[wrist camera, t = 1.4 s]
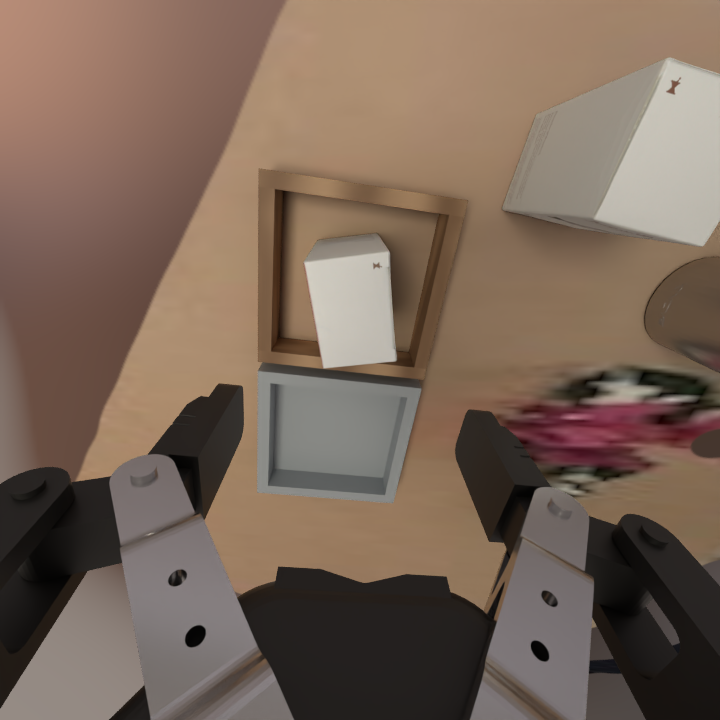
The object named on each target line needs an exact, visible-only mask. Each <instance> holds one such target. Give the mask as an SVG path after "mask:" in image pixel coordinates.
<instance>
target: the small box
mask: <svg viewBox="0 0 720 720" xmlns="http://www.w3.org/2000/svg"><path fill="white" fill-rule="evenodd" d="M303 264H304V269H305V274H306V279H307V285H308V290H309V296H310V301H311V307H312V312H313V318H314V323H315V329H316V334H317V339H318V345H319V350H320V356H321V361H322V367H323V368H334V367H344V366H354V365H364V364H375V363H385V362H395V361H397V354H396V346H395V335H394V322H393V308H392V293H391V274H390V251H389V250H388V248H387V247H386V246H385V244H384V243H383V241H382V239H381V238H380V237H379V235H378V234H377V233H373V234H364V235H355V236H347V237H338V238H330V239H321V240H317V242H316V243H315V245H314V246H313V248H312V250H311V251H310V253H309V254H308V256H307V258H306V259H305V261H304V263H303Z"/></svg>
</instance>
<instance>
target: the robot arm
mask: <svg viewBox="0 0 720 720" xmlns="http://www.w3.org/2000/svg"><path fill="white" fill-rule="evenodd" d="M645 326H646V329H647V332H648V334H649V335H650V337H651V338H652V339H653V340H654V341H656V342H657V343H659V344H661V345H663V346H665V347H667V348H669V349H671V350H673V351H675V352H677V353H680V354H682V355H684V356H686V357H688V358H690V359H692V360H694V361H696V362H698V363H700V364H702V365H704V366H706V367H708V368H710V369H712V370H715V371H717V372H719V373H720V257H709V258H703V259H699V260H696V261H693V262H691V263H689V264H687V265H684V266H683V267H681V268H680V269H678V270H677V271H675V272H673V273H672V274H671V275H670V276H669V277H668V278H667V279H665V280H664V281H663V283H662V284H661V285H660V286H659V287H658V288H657V290H656V291H655V293H654V294H653V296H652V298H651V299H650V302H649V304H648V307H647V310H646V315H645ZM243 427H244V408H243V387H242V386H239V385H230V384H218V385H217V386H216V388H215V389H214V390H213V392H212V393H211V395H210V396H209V397H203V396H200V397H198V398H197V399H195V400H193V401H192V402H190V403H189V404H187V405H186V407H185V408H184V409H183V410H182V412H181V413H180V414H179V416H178V417H177V418H176V419H175V420H174V422H173V425H171V426H170V427H169V428H168V429H167V431H166V432H165V433H164V434H163V436H162V437H161V438H160V440H159V441H158V442H157V443H156V445H155V446H154V447H153V448H152V450H151V451H150V452H149V454H148V455H144V456H140V457H137V458H134V459H131V460H129V461H127V462H126V463H124V464H122V465H121V466H120V467H118V468H117V469H116V470H115V471H114V473H113V474H112V476H110V477H104V478H98V479H91V480H84V481H78V482H71V479H70V476H69V474H68V472H67V471H65V470H63V469H61V468H56V467H45V468H38V469H33V470H29V471H26V472H23V473H20V474H18V475H16V476H13V477H12V478H10V479H8V480H6V481H4V482H3V483H1V484H0V708H1V707H2V705H3V703H4V702H5V700H6V699H7V697H8V696H9V694H10V692H11V691H12V689H13V688H14V686H15V685H16V683H17V681H18V680H19V678H20V676H21V675H22V674H23V672H24V670H25V669H26V667H27V666H28V664H29V662H30V661H31V659H32V658H33V656H34V655H35V653H36V651H37V650H38V648H39V647H40V645H41V643H42V642H43V640H44V639H45V637H46V636H47V634H48V633H49V631H50V629H51V628H52V626H53V625H54V623H55V622H56V620H57V618H58V617H59V615H60V614H61V612H62V611H63V609H64V607H65V606H66V604H67V603H68V601H69V600H70V598H71V596H72V595H73V593H74V592H75V590H76V589H77V587H78V585H79V584H80V582H81V580H82V579H83V578H84V576H85V574H86V573H87V571H89V570H93V569H97V568H102V567H106V566H110V565H114V564H119V563H122V564H123V569H124V575H125V580H126V586H127V591H128V596H129V602H130V607H131V613H132V618H133V624H134V630H135V635H136V640H137V645H138V652H139V657H140V663H141V668H142V674H143V679H144V686H143V687H142V688H141V689H140V690H139V691H138V692H137V693H136V694H135V695H134V696H133V697H132V698H131V699H130V700H129V701H128V702H127V703H126V704H125V705H124V706H123V707H122V708H121V709H120V710H119V711H117V713H115V714H114V716H112V717H111V718H110V719H109V720H586V705H587V689H588V673H589V656H590V640H591V625H592V618H593V620H594V622H595V623H596V625H597V627H598V629H599V631H600V633H601V635H602V637H603V639H604V641H605V643H606V644H607V646H608V648H609V650H610V652H611V654H612V656H613V658H614V660H615V662H616V664H617V665H618V667H619V669H620V671H621V673H622V675H623V677H624V679H625V681H626V683H627V685H628V686H629V688H630V690H631V692H632V694H633V696H634V698H635V700H636V702H637V704H638V705H639V707H640V709H641V711H642V713H643V715H644V717H645V719H646V720H720V586H719V585H718V584H717V582H716V581H715V580H714V579H713V578H712V577H711V576H710V575H709V574H708V572H707V571H706V570H705V569H704V568H703V567H702V566H701V565H700V563H699V562H698V561H697V560H696V559H695V558H694V557H693V556H692V555H691V553H690V552H689V551H688V550H687V549H686V548H685V547H684V546H683V545H682V543H681V542H680V541H679V540H678V539H677V538H676V537H675V536H674V535H673V534H672V533H671V532H669V531H668V530H667V529H665V528H664V527H663V526H661V525H659V524H658V523H656V522H654V521H652V520H650V519H648V518H646V517H643V516H640V515H635V514H626V515H624V516H623V517H622V518H621V520H620V521H619V523H618V524H617V525H614V524H611V523H608V522H605V521H602V520H599V519H596V518H593V517H590V516H588V514H587V512H586V510H585V509H584V507H583V506H582V505H581V504H580V503H579V502H578V501H577V500H575V499H574V498H573V497H571V496H570V495H568V494H566V493H565V492H563V491H560V490H558V489H555V488H551V486H550V485H549V483H548V482H547V480H546V479H545V477H544V476H543V475H542V473H541V472H540V470H539V469H538V467H537V466H536V464H535V463H534V461H533V460H532V459H531V458H530V456H529V454H528V453H527V451H526V450H525V449H523V448H524V447H523V446H522V444H521V443H520V441H519V440H518V438H517V437H516V436H515V435H514V434H513V433H511V432H510V431H509V430H508V429H507V428H505V427H503V426H500V424H499V423H498V421H497V420H496V418H495V417H494V415H493V414H492V412H490V411H480V410H468V411H467V413H466V415H465V418H464V421H463V424H462V427H461V430H460V433H459V436H458V439H457V443H456V448H455V454H456V460H457V463H458V465H459V468H460V470H461V473H462V475H463V478H464V480H465V483H466V485H467V488H468V490H469V493H470V495H471V498H472V500H473V503H474V505H475V508H476V510H477V513H478V515H479V518H480V520H481V523H482V525H483V528H484V530H485V533H486V535H487V538H488V540H489V542H502V543H504V544H505V546H506V548H507V549H506V551H505V553H504V555H503V558H502V560H501V563H500V566H499V569H498V572H497V575H496V577H495V580H494V583H493V586H492V589H491V592H490V594H489V597H488V600H487V603H486V606H485V608H484V610H481V609H480V608H479V607H477V606H476V605H475V604H473V603H472V602H470V601H468V600H467V599H465V598H463V597H461V596H459V595H456V594H454V593H451V592H450V589H449V585H448V581H447V577H443V576H426V575H410V574H406V575H401V576H397V577H392V578H388V579H383V580H379V581H374V582H370V583H361V582H358V581H355V580H352V579H349V578H346V577H343V576H340V575H337V574H334V573H331V572H328V571H325V570H322V569H309V568H293V567H278V571H277V576H276V581H275V582H270V583H267V584H264V585H261V586H258V587H255V588H253V589H251V590H249V591H247V592H245V593H243V594H242V595H240V596H239V597H236V594H235V592H234V590H233V587H232V585H231V583H230V580H229V578H228V576H227V573H226V571H225V568H224V566H223V564H222V561H221V559H220V557H219V554H218V552H217V550H216V547H215V545H214V543H213V540H212V538H211V535H210V533H209V531H208V528H207V526H206V524H205V521H204V520H205V518H206V515H207V513H208V511H209V509H210V507H211V504H212V502H213V500H214V498H215V495H216V493H217V491H218V489H219V487H220V484H221V482H222V480H223V478H224V476H225V473H226V471H227V469H228V467H229V465H230V462H231V460H232V458H233V456H234V454H235V451H236V449H237V447H238V445H239V442H240V440H241V437H242V433H243ZM653 598H654V600H655V601H656V603H657V604H658V606H659V607H660V608H661V610H662V611H663V613H664V614H665V616H666V617H667V618H668V620H669V621H670V623H671V624H672V625H673V627H674V629H675V630H676V632H677V634H678V637H679V641H680V652H679V654H677V652H676V651H675V649H674V648H673V646H672V645H671V643H670V642H669V640H668V639H667V637H666V636H665V634H664V633H663V631H662V630H661V628H660V627H659V625H658V624H657V622H656V621H655V619H654V618H653V617H652V615H651V614H650V612H649V610H648V609H647V607H646V606H647V605H648V604H649V602H650V601H651V600H652V599H653Z"/></svg>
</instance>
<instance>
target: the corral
mask: <svg viewBox="0 0 720 720" xmlns="http://www.w3.org/2000/svg"><path fill="white" fill-rule="evenodd" d="M283 190H285V191H292V192H299V193H305V194H312V195H319V196H325V197H332V198H339V199H346V200H352V201H359V202H366V203H372V204H379V205H386V206H393V207H399V208H406V209H413V210H419V211H426V212H433V213H439V216H438V220H437V225H436V229H435V234H434V239H433V243H432V248H431V252H430V257H429V262H428V266H427V271H426V276H425V280H424V285H423V289H422V294H421V299H420V303H419V308H418V312H417V317H416V322H415V326H414V331H413V335H412V340H411V345H410V349H409V352H400V351H396V354H397V361H395V362H385V363H375V364H364V365H354V366H344V367H334V368H323V367H322V361H321V356H320V350H319V345H318V342H314V341H305V340H296V339H288V338H279V337H278V335H279V305H280V274H281V243H282V212H283ZM467 204H468V200H462V199H455V198H449V197H442V196H436V195H429V194H423V193H416V192H409V191H403V190H396V189H390V188H383V187H377V186H370V185H364V184H357V183H351V182H344V181H338V180H331V179H325V178H318V177H311V176H305V175H298V174H292V173H285V172H279V171H272V170H266V169H259V208H258V362H265V363H274V364H283V365H293V366H302V367H311V368H320V369H329V370H338V371H347V372H357V373H366V374H375V375H384V376H393V377H402V378H411V379H421V380H424V377H425V373H426V369H427V365H428V361H429V357H430V353H431V349H432V345H433V341H434V337H435V333H436V329H437V325H438V321H439V317H440V313H441V309H442V304H443V300H444V296H445V292H446V288H447V284H448V280H449V276H450V272H451V268H452V264H453V260H454V256H455V252H456V248H457V244H458V240H459V236H460V232H461V228H462V224H463V220H464V216H465V212H466V208H467Z"/></svg>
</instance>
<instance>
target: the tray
mask: <svg viewBox="0 0 720 720" xmlns="http://www.w3.org/2000/svg"><path fill="white" fill-rule="evenodd" d="M421 389H422V388H421V385H420V383H419V380H418V379H411V378H402V377H393V376H384V375H375V374H366V373H357V372H347V371H338V370H329V369H320V368H311V367H302V366H293V365H283V364H274V363H265V362H262V364H261V366H260V368H259V370H258V458H257V492H258V493H271V494H283V495H296V496H308V497H321V498H333V499H346V500H359V501H371V502H384V503H393V502H394V498H395V494H396V490H397V486H398V482H399V478H400V474H401V470H402V466H403V462H404V458H405V454H406V450H407V446H408V442H409V437H410V433H411V429H412V425H413V421H414V417H415V413H416V409H417V405H418V401H419V397H420V393H421Z"/></svg>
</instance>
